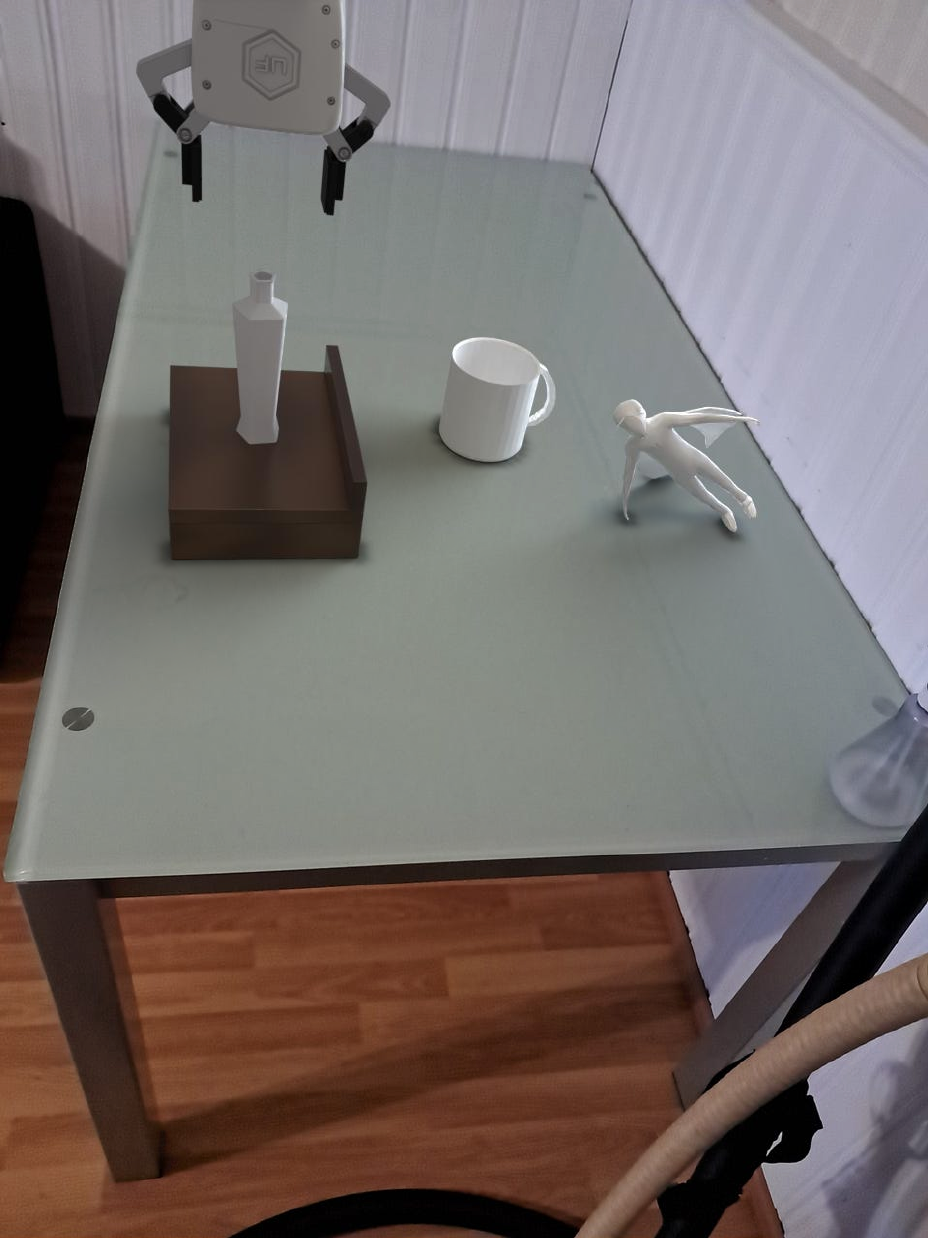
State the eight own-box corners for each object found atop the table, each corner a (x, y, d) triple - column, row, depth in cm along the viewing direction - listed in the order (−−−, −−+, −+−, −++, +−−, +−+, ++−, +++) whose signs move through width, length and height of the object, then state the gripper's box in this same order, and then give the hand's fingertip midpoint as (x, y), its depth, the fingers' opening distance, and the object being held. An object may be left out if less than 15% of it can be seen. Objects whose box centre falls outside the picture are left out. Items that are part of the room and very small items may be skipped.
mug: (443, 460, 98) (458, 381, 92) (433, 411, 105) (447, 333, 98) (555, 467, 101) (577, 390, 95) (539, 418, 107) (558, 343, 101)
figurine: (783, 420, 100) (669, 301, 89) (816, 487, 93) (697, 367, 81) (662, 507, 108) (543, 408, 96) (684, 575, 100) (558, 476, 89)
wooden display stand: (171, 559, 81) (166, 479, 76) (172, 413, 96) (168, 336, 90) (358, 558, 86) (367, 482, 80) (331, 418, 100) (338, 345, 95)
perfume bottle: (261, 454, 85) (265, 295, 75) (224, 432, 86) (223, 274, 76) (295, 434, 88) (304, 278, 78) (259, 413, 89) (263, 258, 79)
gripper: (126, -84, 56) (140, 210, 67) (416, -34, 60) (383, 233, 72) (130, -108, 61) (143, 169, 72) (397, -60, 66) (369, 193, 77)
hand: (263, 201), depth 72 cm, fingers open, 9 cm apart
